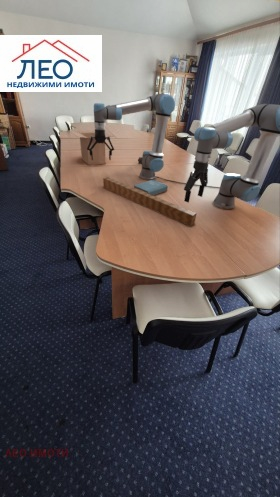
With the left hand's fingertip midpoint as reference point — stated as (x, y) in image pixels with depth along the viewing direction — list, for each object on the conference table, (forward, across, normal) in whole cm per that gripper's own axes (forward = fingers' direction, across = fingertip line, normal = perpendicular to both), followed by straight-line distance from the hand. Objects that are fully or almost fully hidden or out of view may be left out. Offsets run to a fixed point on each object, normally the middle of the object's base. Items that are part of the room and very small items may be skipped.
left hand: (101, 159), depth 171 cm
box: (+20, -1, +70) cm, 73 cm away
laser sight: (+20, +56, +57) cm, 83 cm away
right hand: (+3, +46, -71) cm, 84 cm away
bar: (+20, +25, -38) cm, 50 cm away
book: (+20, +37, -17) cm, 45 cm away
